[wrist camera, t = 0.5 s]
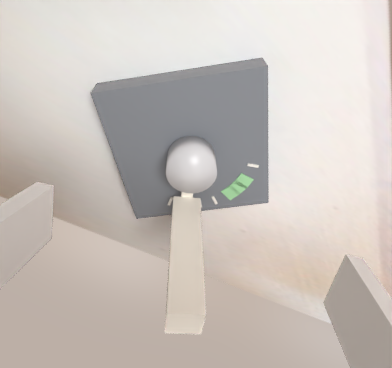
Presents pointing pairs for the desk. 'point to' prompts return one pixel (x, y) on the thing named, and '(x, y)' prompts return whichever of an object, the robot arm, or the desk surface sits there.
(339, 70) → the desk surface
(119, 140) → the dial plate
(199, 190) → the lever
